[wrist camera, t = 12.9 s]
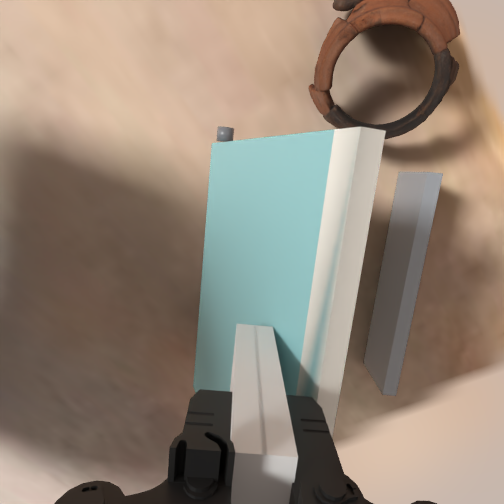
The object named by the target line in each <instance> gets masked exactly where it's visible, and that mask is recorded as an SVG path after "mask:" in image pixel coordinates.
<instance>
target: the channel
mask: <svg viewBox="0 0 504 504" xmlns="http://www.w3.org/2000/svg"><path fill="white" fill-rule="evenodd" d="M233 135H234V129H233V128H229V127H218V130H217V141H220V142H228V141H233ZM442 176H443V174H442V173H432V172H399V174H398V179H397V185H396V190H395V196H394V201H393V206H392V212H391V217H390V223H389V228H388V233H387V239H386V244H385V249H384V255H383V260H382V266H381V271H380V276H379V282H378V287H377V293H376V298H375V303H374V309H373V314H372V319H371V325H370V330H369V336H368V341H367V346H366V352H365V357H364V365H365V367H366V368H367V370H368V372H369V373H370V375H371V376H372V378H373V380H374V381H375V383H376V385H377V386H378V388H379V390H380V391H381V393H382V395H392V396H396V393H397V389H398V384H399V379H400V374H401V370H402V365H403V360H404V355H405V351H406V346H407V341H408V336H409V332H410V327H411V322H412V318H413V313H414V308H415V303H416V299H417V294H418V289H419V284H420V280H421V275H422V270H423V265H424V261H425V256H426V251H427V247H428V242H429V237H430V232H431V228H432V223H433V218H434V213H435V209H436V204H437V199H438V195H439V190H440V185H441V180H442Z"/></svg>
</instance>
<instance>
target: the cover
mask: <svg viewBox="0 0 504 504" xmlns="http://www.w3.org/2000/svg"><path fill="white" fill-rule="evenodd" d="M385 133H386V131H384V130H378V129H372V128H367V127H352V128H343V129H334V130H325V131H317V132H308V133H299V134H290V135H281V136H272V137H263V138H254V139H245V140H236V141H228V142H219V143H212V149H211V162H210V175H209V188H208V201H207V214H206V227H205V240H204V253H203V266H202V279H201V293H200V306H199V319H198V332H197V345H196V358H195V371H194V384H193V387H194V390H195V392H196V393H197V392H198V391H199V389H204V390H216V391H229V392H230V384H231V374H232V364H233V355H234V345H235V335H236V325H237V324H248V325H259V326H270V327H273V331H274V336H275V341H276V346H277V351H278V356H279V362H280V367H281V372H282V377H283V382H284V387H285V392H286V395H295V396H308V397H312V398H313V399H314V400H315V401H316V402H317V403H318V404H319V405H320V406H321V408H322V410H323V413H324V416H325V419H326V423H327V424H328V427H329V430H330V434H331V436H332V437H333V431H334V426H335V420H336V414H337V408H338V403H339V397H340V391H341V385H342V380H343V374H344V368H345V362H346V357H347V351H348V345H349V339H350V334H351V328H352V322H353V316H354V311H355V305H356V299H357V293H358V288H359V282H360V276H361V270H362V265H363V259H364V253H365V247H366V242H367V236H368V230H369V224H370V219H371V213H372V207H373V202H374V196H375V190H376V184H377V179H378V173H379V167H380V161H381V156H382V150H383V144H384V138H385Z"/></svg>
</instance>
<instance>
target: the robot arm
mask: <svg viewBox="0 0 504 504" xmlns="http://www.w3.org/2000/svg"><path fill="white" fill-rule="evenodd" d="M55 504H373V503H371V502H369V501H368V500H366V499H365V498H364V497H363V494H362V493H361V491H360V489H359V488H358V486H357V485H356V483H355V482H353V481H352V480H351V479H350V478H349V477H348V476H346V475H345V474H344V472H343V469H342V466H341V463H340V461H339V457H338V454H337V451H336V448H335V445H334V442H333V439H332V436H331V434H330V430H329V427H328V424H327V423H326V419H325V416H324V413H323V410H322V408H321V406H320V405H319V404H318V403H317V402H316V401H315V400H314V399H313V398H312V397H308V396H295V395H286V392H285V387H284V382H283V377H282V372H281V367H280V362H279V356H278V351H277V346H276V341H275V336H274V331H273V327H270V326H259V325H248V324H237V325H236V335H235V345H234V355H233V364H232V374H231V384H230V392H229V391H216V390H204V389H199V391H198V392H197V393H196V394H195V395H194V396H193V397H192V398H191V399H190V403H189V407H188V412H187V416H186V420H185V425H184V429H183V433H181V434H180V435H179V436H177V437H176V438H175V439H174V441H173V442H172V444H171V446H170V451H169V467H168V478H167V479H166V480H165V481H164V482H163V483H162V484H160V485H159V486H157V487H155V488H153V489H151V490H148V491H145V492H142V493H138V494H133V495H129V496H125V495H124V494H123V492H122V491H121V489H120V488H119V487H118V486H116V485H114V484H112V483H110V482H104V481H93V482H88V483H83V484H81V485H79V486H77V487H75V488H72V489H70V490H69V491H67V492H66V493H65V494H64V495H63V496H62V497H61V498H59V499H58V500H57V501H56V502H55ZM412 504H437V503H433V502H430V501H416V502H414V503H412Z"/></svg>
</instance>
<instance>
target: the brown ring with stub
mask: <svg viewBox="0 0 504 504" xmlns="http://www.w3.org/2000/svg"><path fill="white" fill-rule="evenodd" d="M354 7H355V8H354ZM333 8H334V9H335V10H338V11H348V10H351V9H352V8H354V9H353V10H352V13H351V15H350V16H349V17H348V19H347V20H343V19H341V18H339V17H338V18H337V19H336V20H335V21H334V23H333V25H332V27H331V28H330V30H329V32H328V34H327V37H326V39H325V41H324V43H323V45H322V47H321V51H320V54H319V57H318V61H317V64H316V68H315V76H314V85H313V84H311V85H310V86H309V92H310V94H311V97H312V99H313V102H314V104H315V105H316V107H317V109H318V110H319V112H320V113H321V114H323V117H324V119H325V120H326V121H327V122H329V123H331V124H332V125H334V126H335V127H337V128H339V129H343V128H352V127H367V128H372V129H378V130H384V131H386V133H385V138H384V139H388V138H392V137H396V136H400V135H402V134H405V133H407V132H409V131H411V130H413V129H414V128H416V127H417V126H418V125H420V124H421V123H422V122H424V121H425V120H426V119H427V117H428V116H429V115H430V114H431V113H432V112H433V111H434V109H435V108H436V107H437V105H438V104H439V103H440V102H441V101H442V98H443V96H444V95H445V94H446V92H447V91H448V89H449V87H450V85H451V84H452V83H453V82H454V81H455V79H456V76H457V73H458V69H459V64H458V62H457V61H455V59H454V58H453V57H452V56H451V55H450V51H449V50H448V48H447V43H449V42H451V41H452V39H454V38H456V37H457V36H458V35H459V34H460V29H459V21H458V17H457V14H456V11H455V9H454V7H453V6H452V4H451V2H450V1H449V0H334V3H333ZM385 24H396V25H402V26H406V27H408V28H411V29H413V30H415V31H416V32H417V33H418V34H420V35H421V36H422V37H423V38H424V39H425V41H426V42H427V43H428V45H429V47H430V49H431V52H432V54H433V55H434V60H435V74H434V79H433V82H432V86H431V88H430V90H429V92H428V94H427V96H426V97H425V99H424V100H423V102H422V103H421V104H420V105H419V106H418V107H417V108H416V109H415V110H414V111H412V112H411V113H410V114H408V115H407V116H405V117H403V118H401V119H400V120H397V121H394V122H391V123H387V124H379V125H374V124H367V123H363V122H359V121H357V120H355V119H353V118H351V117H350V116H349V115H347V114H346V113H345V112H344V111H343V110H342V109H341V108H340V107H339V106H338V105H334V102H333V100H332V97H331V95H330V90H329V89H331V87H332V80H333V71H334V67H335V64H336V62H337V60H338V58H339V56H340V54H341V52H342V51H343V50H344V48H345V47H346V46H347V45H348V43H349V42H350V41H352V40H353V39H354V38H355V37H356V36H357V35H358V34H359V33H361V32H363V31H365V30H367V29H370V28H372V27H375V26H380V25H385Z"/></svg>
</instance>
